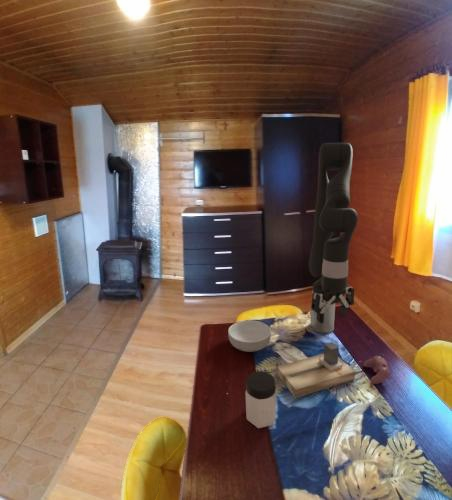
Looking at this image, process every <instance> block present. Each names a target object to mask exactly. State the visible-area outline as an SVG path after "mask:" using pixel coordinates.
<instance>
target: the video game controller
mask: <svg viewBox="0 0 452 500" xmlns="http://www.w3.org/2000/svg"><path fill="white" fill-rule="evenodd" d="M363 367H365V368H371V367H373V372H374V373H376V375H374V376H372V377H371V378H370V380H369V382H370V383H371V384H373V385H377V384H381V383H383V382H384V381H385V380H388V379H389V378H390V374H391V372H390V369H389V366H388V363H387V360H386V359H385V358H383V356H379V355H373V357H371V358H370V359H367V360H365V361H364V362H363Z"/></svg>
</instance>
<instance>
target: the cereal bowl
mask: <svg viewBox="0 0 452 500" xmlns="http://www.w3.org/2000/svg"><path fill="white" fill-rule="evenodd" d="M227 335H228V340H229V342H230V344H231V345H232V347H234V348H235V349H237V350H239V351H242V352H247V353H248V352H249V353H250V352H251V353H252V352H257V351H261V350H263V349H265V348H266V347H267V346H268V345H269V344H270V341H271V337H272V330H271V328H270V326H268V325H267V323H265V322H263V321H259V320H251V319H249V320H240V321H237V322H235V323H233V324H232V325H230V326H229V327H228V332H227Z"/></svg>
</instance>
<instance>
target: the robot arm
mask: <svg viewBox="0 0 452 500" xmlns="http://www.w3.org/2000/svg"><path fill="white" fill-rule="evenodd" d="M353 152H354V151H353V147H352V145H351V143H349V142H325V143H322V144H321V145H320V147H319V151H318V166H317V167H318V169H317V170H318V171H317V172H318V174H317V192H316V199H315V200H316V201H315V202H316V203H315V209H314V223H313V224H314V225H313V236H312V237H313V238H312V243H311V248H310V252H309V253H310V254H309V259H308V268H309V269H308V270H309V273H310V274H311V276H312V277H314V278H319V279H317V280H316V281H314V282H313V283H312V293H311V294H312V295H311V304H310V324H309V325H311V329H312V330H313V331H315V332H318V333H321V334H328V333H332V332H333V331H334V330H335V313H336V304H339V303H340V309H339V316H340V317H341V318H342V319H346V318H347V316H348V312H349V311H348V310H349V309H348V308H349V307H350V306H353V305H354V303H355V288H354V287H352V286H351V285H348V275H349V252H350V244H351V242H352V241H351V240H352V237H353V234H354V233H355V230H356V228H357V225H358V221H359V215H358V212H357V211H356V210H355V209H354V208H352V207H351V208H350V207H349V206H350V203H351V197H350V196H351V195H350V193H351V192H350V183H351V182H350V181H351V175H352V168H353V156H354V155H353V154H354V153H353ZM328 171H338V172H337V173H336V174H335V175H334V176H333V177H332V178H331V179H330V180H329V177H328ZM335 233H342V234H341V235H339V236H338V237H334V238H332V237H333V236H334V234H335ZM344 296H345V297H344Z"/></svg>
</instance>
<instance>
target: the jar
mask: <svg viewBox="0 0 452 500" xmlns="http://www.w3.org/2000/svg"><path fill="white" fill-rule="evenodd" d="M276 383H277V382H276V379H275V377H274V376H273V375H272V374H271V373H270V372H269V373H268V372H266V371H255V372H252V373H250V374H249V375H248V376H247V377H246V380H245V384H246V385H245V389H246V390H245V415H246V418H245V419H246V420H247V421H248V422H250V423H251V424H252V425H254V426H255V427H256V428H257V429H262V428H267V427H271V426H273V425H275V421H276V417H277V386H276Z"/></svg>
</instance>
